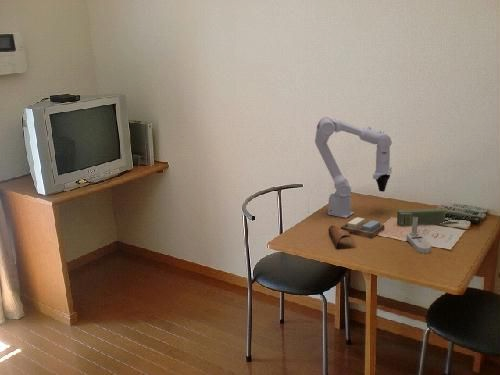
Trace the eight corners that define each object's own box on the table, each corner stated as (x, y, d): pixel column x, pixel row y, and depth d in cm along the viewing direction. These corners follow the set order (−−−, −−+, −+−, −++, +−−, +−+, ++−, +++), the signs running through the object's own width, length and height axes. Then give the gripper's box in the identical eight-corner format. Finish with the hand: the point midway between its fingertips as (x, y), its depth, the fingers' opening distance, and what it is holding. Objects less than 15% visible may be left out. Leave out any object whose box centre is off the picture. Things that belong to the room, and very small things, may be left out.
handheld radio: (396, 224, 229) (456, 221, 229) (398, 227, 226) (458, 224, 225) (397, 209, 227) (457, 207, 226) (399, 212, 224) (460, 209, 223)
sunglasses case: (358, 248, 206) (350, 234, 204) (343, 257, 207) (334, 244, 205) (348, 231, 223) (340, 218, 221) (333, 240, 224) (325, 227, 222)
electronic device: (420, 230, 196) (406, 215, 210) (418, 255, 199) (404, 238, 213) (434, 229, 196) (419, 214, 210) (432, 254, 199) (417, 237, 214)
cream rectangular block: (355, 232, 222) (355, 224, 221) (347, 230, 224) (347, 222, 223) (364, 226, 228) (364, 218, 227) (356, 224, 230) (356, 217, 229)
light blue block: (369, 235, 218) (369, 227, 217) (362, 233, 221) (362, 225, 220) (379, 229, 224) (380, 221, 223) (372, 227, 226) (372, 220, 225)
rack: (340, 231, 223) (340, 226, 223) (353, 223, 231) (353, 218, 231) (372, 238, 215) (372, 233, 214) (384, 229, 223) (384, 224, 222)
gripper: (384, 165, 227) (383, 196, 231) (398, 158, 238) (397, 188, 242) (368, 163, 231) (368, 194, 235) (383, 156, 242) (382, 185, 246)
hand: (381, 191), depth 239 cm, fingers closed
